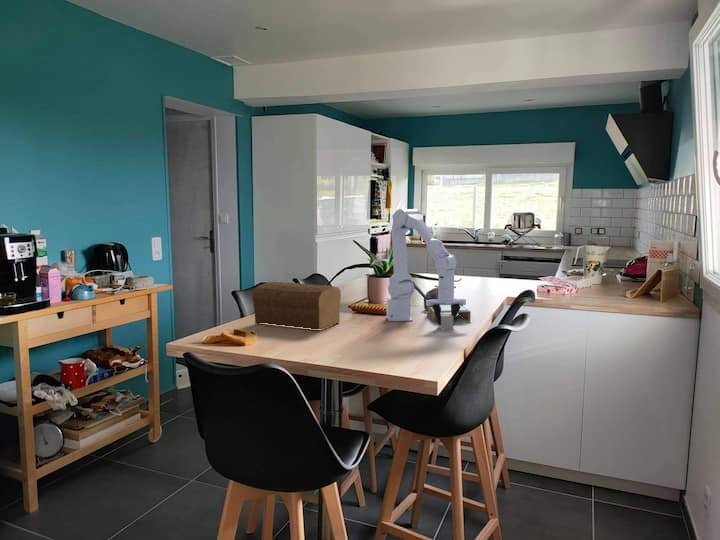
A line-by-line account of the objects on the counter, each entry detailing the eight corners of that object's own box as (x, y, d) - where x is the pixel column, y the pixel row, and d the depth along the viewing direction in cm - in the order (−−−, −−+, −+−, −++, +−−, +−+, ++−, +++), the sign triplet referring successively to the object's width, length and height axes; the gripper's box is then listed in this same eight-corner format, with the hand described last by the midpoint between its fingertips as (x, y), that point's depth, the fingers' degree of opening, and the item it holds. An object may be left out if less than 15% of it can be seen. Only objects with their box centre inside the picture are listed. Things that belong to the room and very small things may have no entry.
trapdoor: (430, 306, 226) (430, 300, 226) (455, 305, 227) (455, 300, 227) (439, 314, 209) (439, 308, 209) (467, 314, 210) (467, 308, 210)
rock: (420, 312, 235) (443, 313, 232) (419, 294, 233) (442, 294, 230) (426, 304, 246) (448, 304, 242) (425, 286, 244) (448, 286, 240)
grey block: (441, 329, 199) (441, 316, 198) (438, 326, 203) (438, 313, 203) (453, 329, 199) (453, 316, 199) (450, 326, 204) (450, 313, 203)
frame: (426, 315, 224) (427, 303, 224) (461, 314, 225) (461, 302, 225) (434, 322, 210) (434, 310, 210) (470, 321, 212) (470, 309, 211)
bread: (279, 316, 226) (277, 278, 224) (342, 322, 212) (341, 282, 210) (252, 325, 209) (250, 284, 207) (318, 332, 196) (317, 289, 194)
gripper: (429, 290, 195) (428, 327, 197) (468, 289, 196) (467, 326, 198) (425, 287, 202) (424, 322, 204) (463, 286, 203) (462, 321, 205)
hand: (445, 324), depth 201 cm, fingers closed on grey block, 4 cm apart
